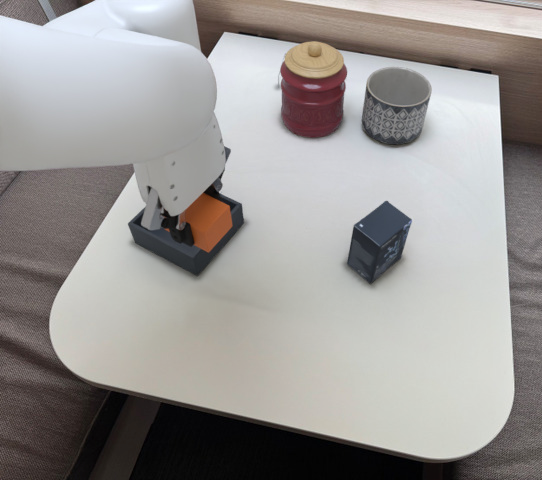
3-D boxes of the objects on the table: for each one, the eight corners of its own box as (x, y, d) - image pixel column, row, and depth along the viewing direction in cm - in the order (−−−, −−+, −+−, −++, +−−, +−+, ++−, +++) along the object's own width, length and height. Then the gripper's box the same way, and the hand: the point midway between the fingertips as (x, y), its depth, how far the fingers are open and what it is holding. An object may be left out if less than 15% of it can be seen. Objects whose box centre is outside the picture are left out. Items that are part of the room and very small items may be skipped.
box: (370, 285, 85) (379, 246, 76) (346, 264, 87) (351, 224, 79) (401, 259, 88) (413, 219, 80) (377, 239, 91) (386, 198, 82)
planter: (389, 156, 104) (398, 115, 95) (348, 123, 109) (353, 81, 101) (433, 132, 109) (445, 90, 101) (392, 101, 115) (399, 59, 106)
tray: (197, 276, 84) (192, 258, 80) (134, 242, 88) (127, 223, 84) (244, 222, 92) (241, 203, 88) (184, 193, 95) (179, 174, 91)
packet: (208, 253, 64) (204, 233, 61) (164, 229, 66) (157, 208, 63) (232, 226, 67) (229, 205, 63) (189, 204, 69) (184, 183, 65)
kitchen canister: (279, 100, 113) (278, 24, 99) (338, 98, 114) (345, 23, 100) (282, 140, 105) (281, 63, 91) (346, 138, 106) (354, 62, 92)
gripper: (195, 56, 57) (215, 173, 72) (78, 145, 48) (128, 259, 62) (252, 79, 55) (260, 195, 69) (141, 177, 46) (177, 287, 60)
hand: (197, 224), depth 66 cm, fingers closed on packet, 5 cm apart
